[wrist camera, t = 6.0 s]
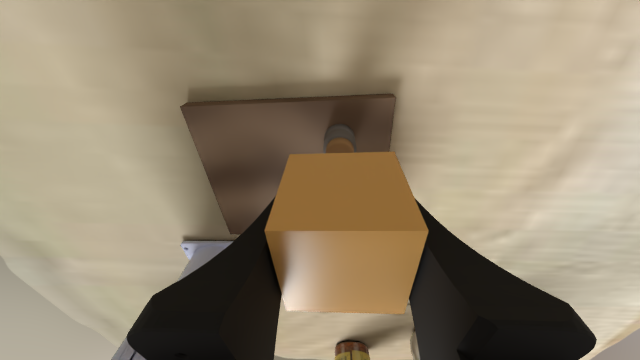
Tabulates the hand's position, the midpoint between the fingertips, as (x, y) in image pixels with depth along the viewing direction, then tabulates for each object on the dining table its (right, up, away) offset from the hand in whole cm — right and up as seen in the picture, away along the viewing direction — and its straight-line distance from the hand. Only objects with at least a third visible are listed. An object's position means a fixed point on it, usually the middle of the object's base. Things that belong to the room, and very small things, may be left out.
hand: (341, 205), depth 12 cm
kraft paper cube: (0, +1, +1) cm, 1 cm away
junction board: (-3, +2, +10) cm, 11 cm away
